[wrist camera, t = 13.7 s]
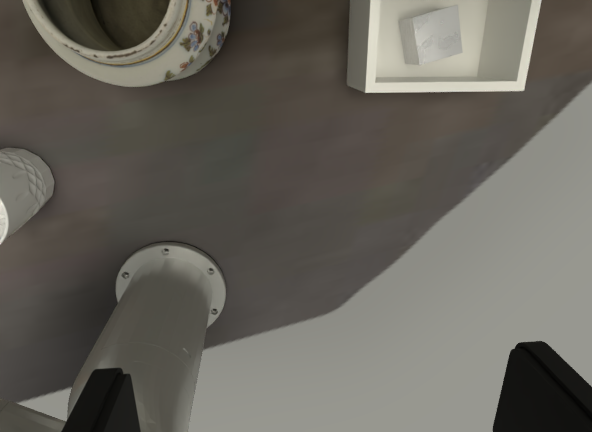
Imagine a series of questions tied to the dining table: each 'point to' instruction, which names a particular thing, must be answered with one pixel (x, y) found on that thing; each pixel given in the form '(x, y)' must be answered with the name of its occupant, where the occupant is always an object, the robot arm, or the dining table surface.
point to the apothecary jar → (133, 36)
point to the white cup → (21, 188)
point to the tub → (451, 70)
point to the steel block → (431, 36)
